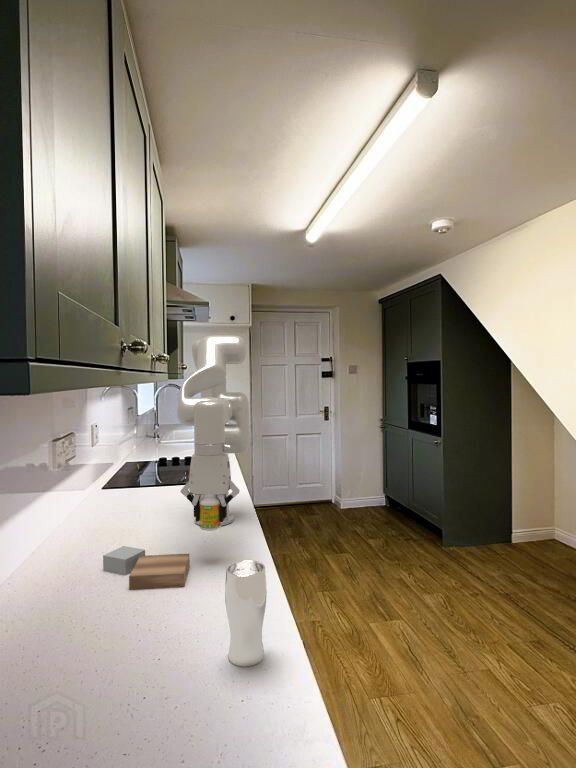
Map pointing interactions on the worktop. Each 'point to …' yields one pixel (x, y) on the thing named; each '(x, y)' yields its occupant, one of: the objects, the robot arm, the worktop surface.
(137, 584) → the walnut block
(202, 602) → the worktop surface
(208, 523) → the supplement bottle
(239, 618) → the beer glass
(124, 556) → the slate block
